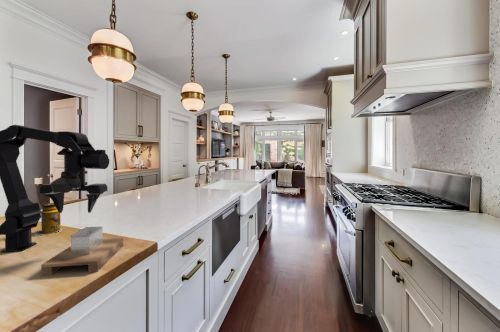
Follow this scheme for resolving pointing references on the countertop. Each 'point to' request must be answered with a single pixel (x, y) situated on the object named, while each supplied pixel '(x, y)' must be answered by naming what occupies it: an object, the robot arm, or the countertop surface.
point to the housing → (86, 240)
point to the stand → (84, 257)
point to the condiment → (49, 220)
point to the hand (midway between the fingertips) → (75, 212)
